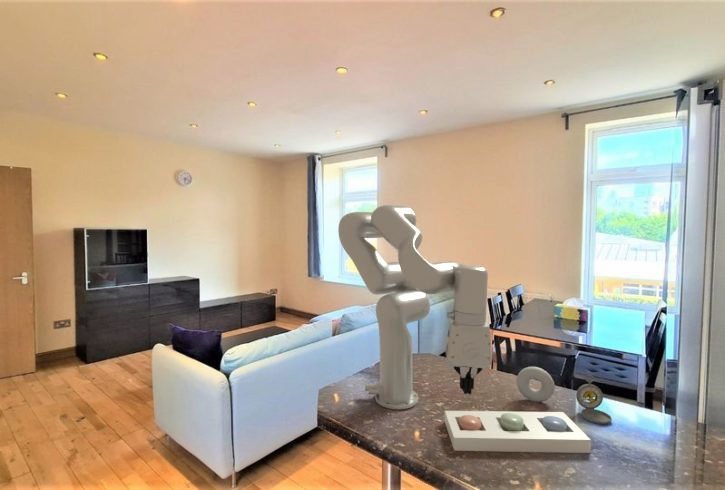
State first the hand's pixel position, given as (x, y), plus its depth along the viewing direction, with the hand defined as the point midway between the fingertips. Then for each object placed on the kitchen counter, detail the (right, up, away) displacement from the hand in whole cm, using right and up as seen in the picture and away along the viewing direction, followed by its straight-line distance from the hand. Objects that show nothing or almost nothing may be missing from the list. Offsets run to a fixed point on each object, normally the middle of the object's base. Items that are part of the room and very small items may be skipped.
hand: (466, 391), depth 87 cm
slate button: (+21, -9, -1) cm, 22 cm away
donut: (+25, -10, +16) cm, 31 cm away
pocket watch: (+36, -10, +8) cm, 38 cm away
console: (+11, -11, -1) cm, 15 cm away
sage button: (+11, -8, -1) cm, 14 cm away
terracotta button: (+1, -9, 0) cm, 9 cm away
